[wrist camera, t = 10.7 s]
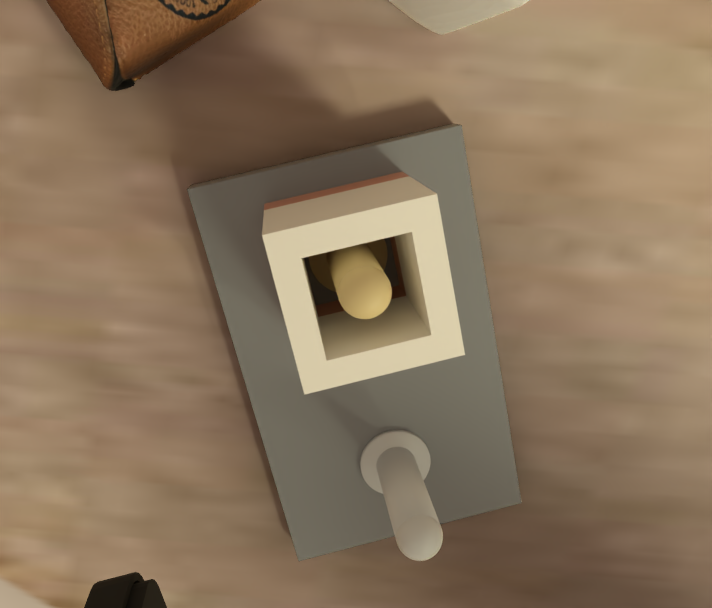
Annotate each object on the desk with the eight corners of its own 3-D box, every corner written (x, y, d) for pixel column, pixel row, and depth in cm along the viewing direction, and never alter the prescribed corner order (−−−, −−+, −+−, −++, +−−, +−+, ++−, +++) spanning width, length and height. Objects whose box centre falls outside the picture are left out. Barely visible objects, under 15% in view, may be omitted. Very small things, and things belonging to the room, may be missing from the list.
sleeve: (402, 171, 27) (437, 193, 21) (426, 301, 28) (464, 354, 23) (264, 203, 26) (262, 235, 21) (298, 332, 28) (304, 394, 22)
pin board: (513, 488, 33) (578, 597, 26) (297, 545, 33) (304, 671, 26) (453, 123, 27) (516, 135, 20) (190, 185, 27) (160, 219, 20)
